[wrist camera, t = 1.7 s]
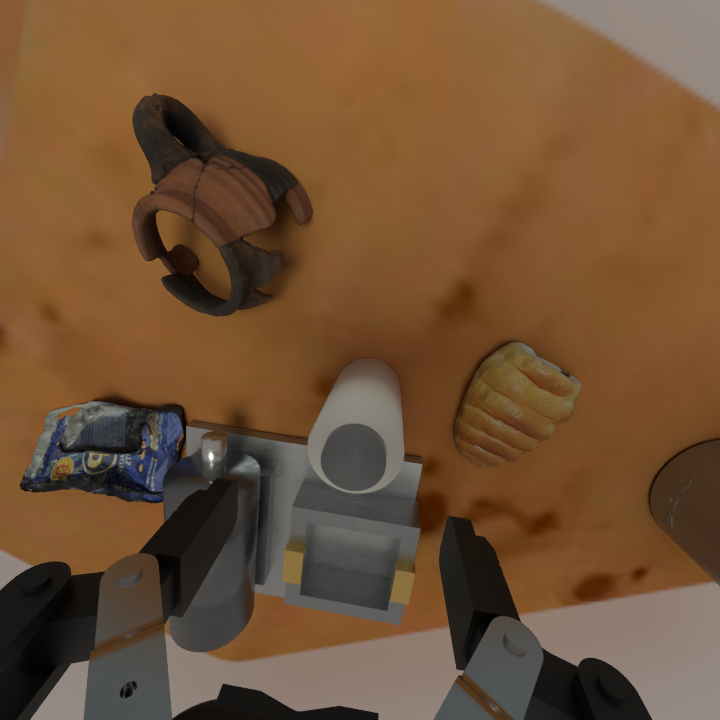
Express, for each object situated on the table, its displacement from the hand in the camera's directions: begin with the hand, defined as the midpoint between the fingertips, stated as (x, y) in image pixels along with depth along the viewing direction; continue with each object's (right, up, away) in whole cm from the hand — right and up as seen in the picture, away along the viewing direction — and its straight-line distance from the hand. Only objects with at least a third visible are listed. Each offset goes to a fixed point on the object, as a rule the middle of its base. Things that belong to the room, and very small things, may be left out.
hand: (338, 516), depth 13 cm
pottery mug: (-8, +16, +11) cm, 21 cm away
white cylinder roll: (+1, +4, +13) cm, 14 cm away
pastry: (+12, +3, +13) cm, 18 cm away
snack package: (-19, -1, +17) cm, 26 cm away
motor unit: (-5, -8, +17) cm, 20 cm away
